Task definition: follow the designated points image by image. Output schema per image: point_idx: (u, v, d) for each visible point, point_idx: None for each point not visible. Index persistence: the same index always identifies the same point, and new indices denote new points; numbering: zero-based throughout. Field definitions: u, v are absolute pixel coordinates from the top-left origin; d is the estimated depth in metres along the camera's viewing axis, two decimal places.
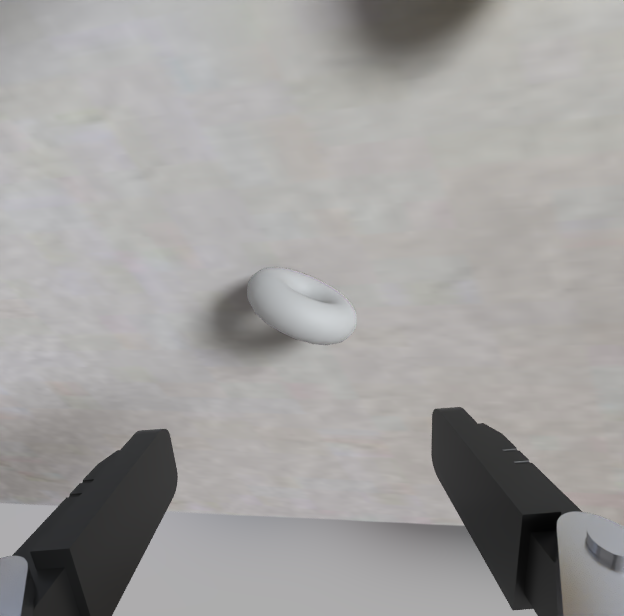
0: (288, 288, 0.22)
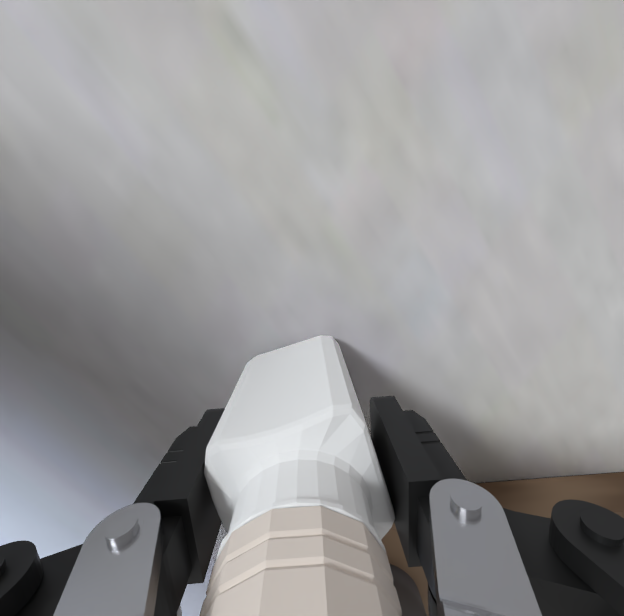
0: None
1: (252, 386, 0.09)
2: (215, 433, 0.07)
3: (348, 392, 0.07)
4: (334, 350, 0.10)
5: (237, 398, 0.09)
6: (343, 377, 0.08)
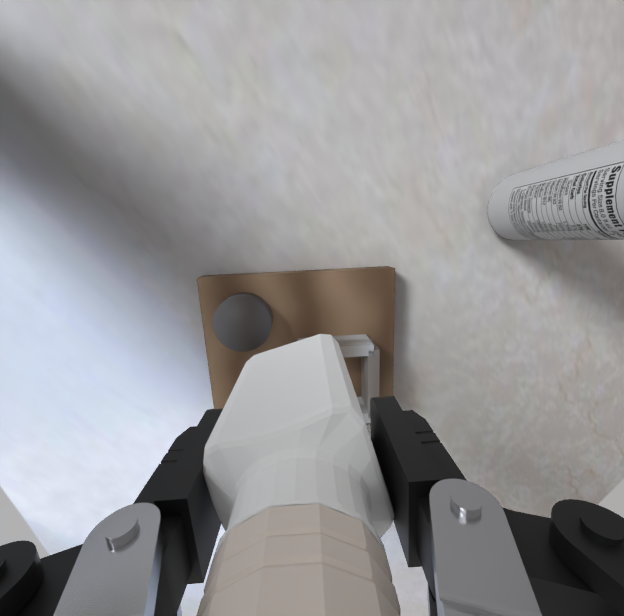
0: None
1: (251, 385, 0.09)
2: (214, 431, 0.07)
3: (347, 390, 0.07)
4: (333, 349, 0.10)
5: (236, 396, 0.09)
6: (342, 375, 0.08)
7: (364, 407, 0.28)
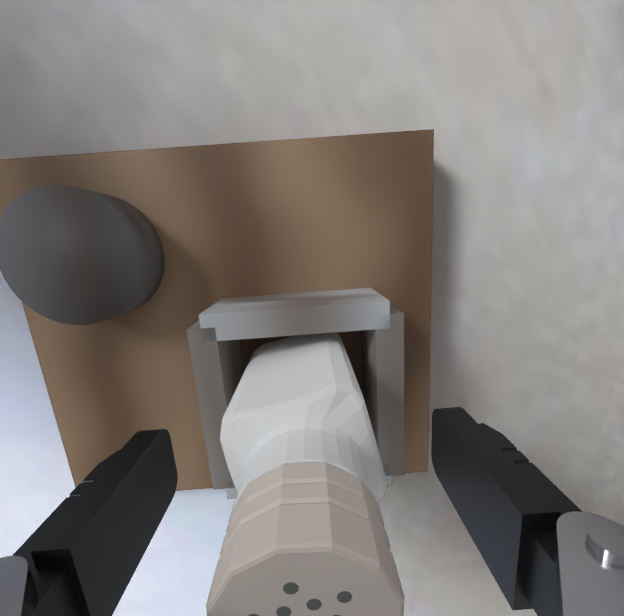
0: None
1: (261, 369, 0.10)
2: (229, 407, 0.08)
3: (349, 374, 0.08)
4: (336, 340, 0.11)
5: (248, 379, 0.10)
6: (345, 362, 0.09)
7: None
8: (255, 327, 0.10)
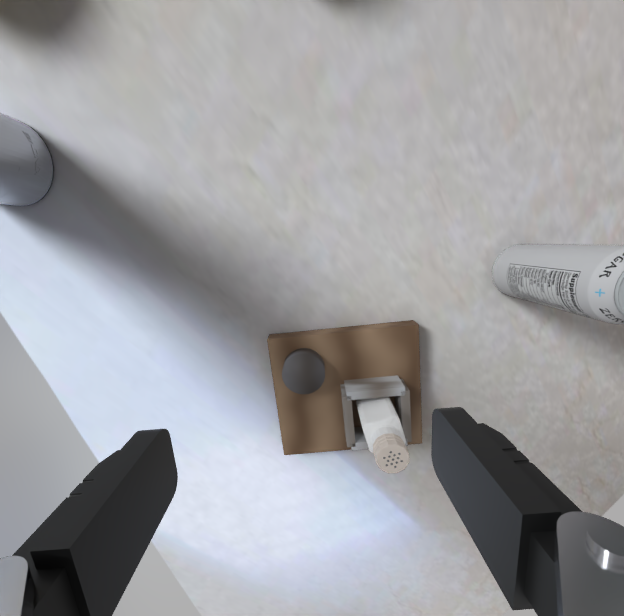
0: None
1: (366, 408, 0.33)
2: (363, 421, 0.32)
3: (394, 412, 0.32)
4: (387, 397, 0.34)
5: (363, 412, 0.33)
6: (392, 407, 0.32)
7: None
8: (363, 395, 0.34)
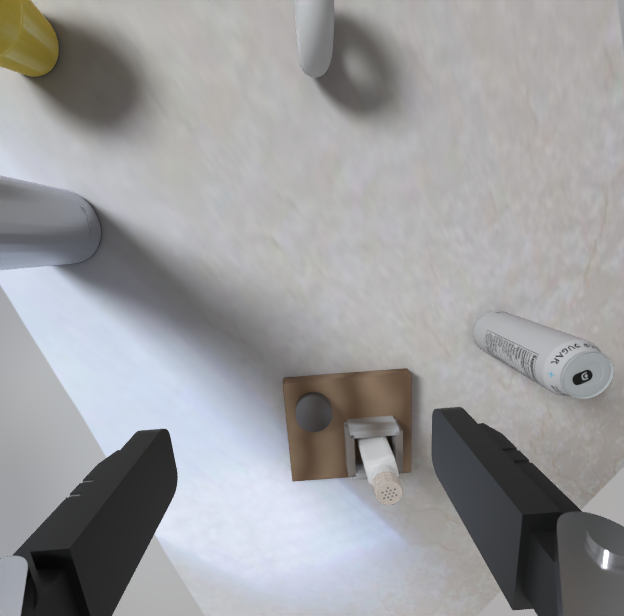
0: (298, 17, 0.27)
1: (366, 446, 0.40)
2: (364, 458, 0.38)
3: (390, 451, 0.38)
4: (384, 436, 0.41)
5: (364, 449, 0.39)
6: (388, 446, 0.39)
7: None
8: (364, 435, 0.40)
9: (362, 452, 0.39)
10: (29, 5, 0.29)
